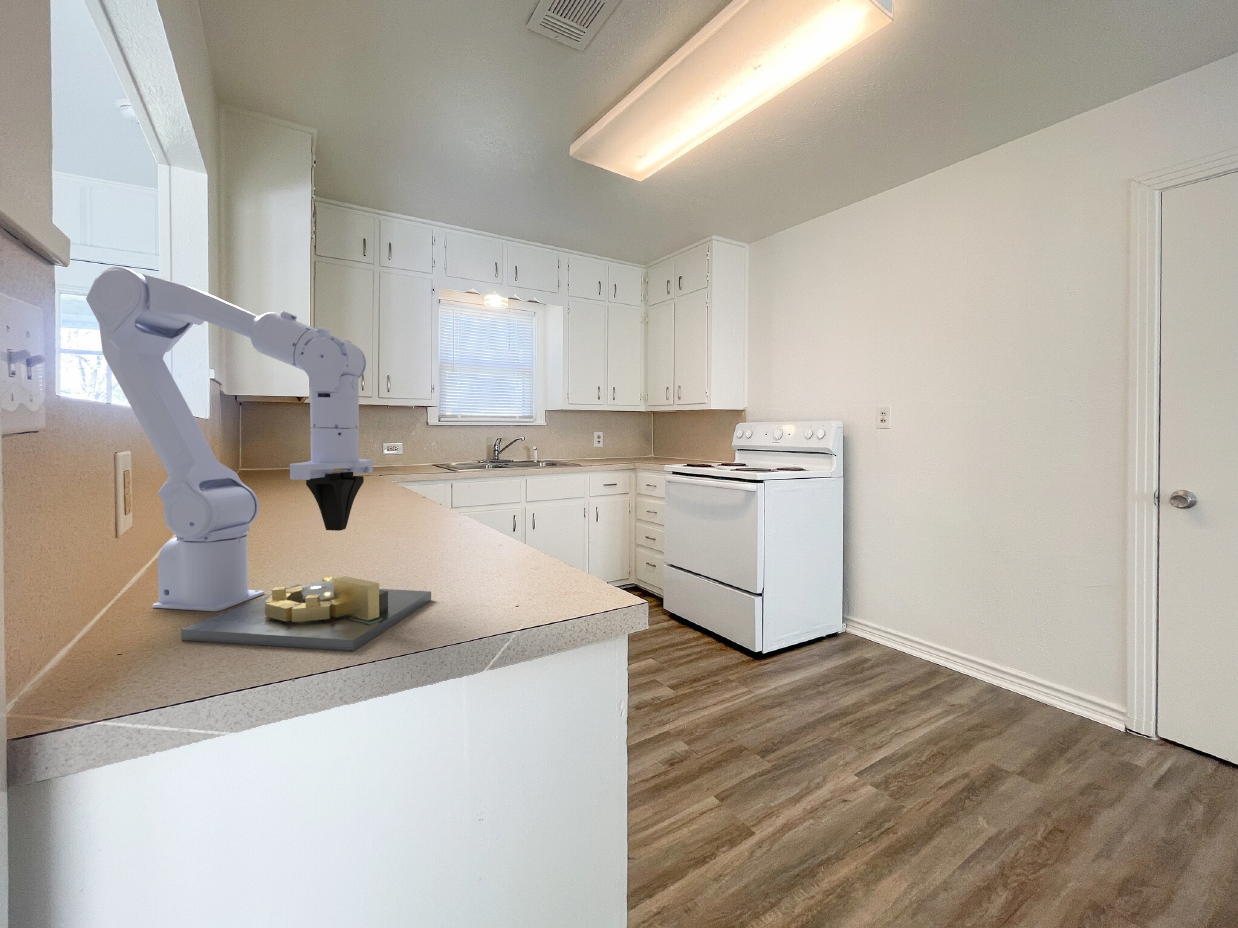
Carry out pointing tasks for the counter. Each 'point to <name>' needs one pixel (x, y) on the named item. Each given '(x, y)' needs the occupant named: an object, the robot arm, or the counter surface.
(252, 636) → the dark gray base plate
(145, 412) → the robot arm
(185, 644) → the counter surface
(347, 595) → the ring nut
